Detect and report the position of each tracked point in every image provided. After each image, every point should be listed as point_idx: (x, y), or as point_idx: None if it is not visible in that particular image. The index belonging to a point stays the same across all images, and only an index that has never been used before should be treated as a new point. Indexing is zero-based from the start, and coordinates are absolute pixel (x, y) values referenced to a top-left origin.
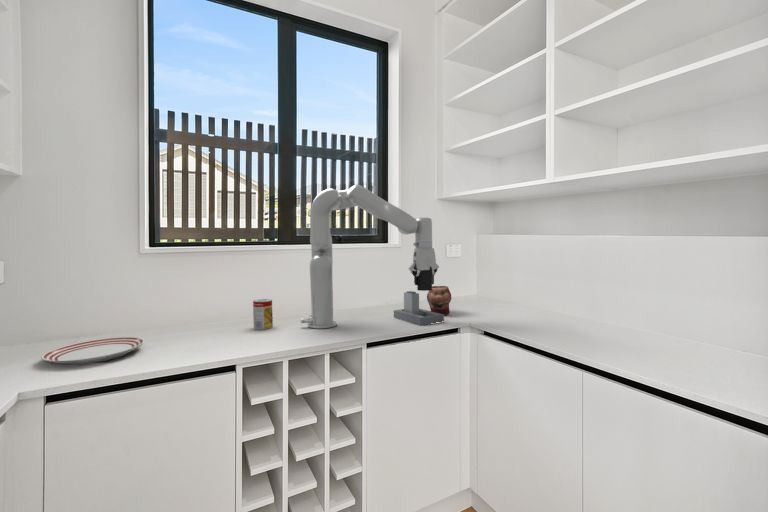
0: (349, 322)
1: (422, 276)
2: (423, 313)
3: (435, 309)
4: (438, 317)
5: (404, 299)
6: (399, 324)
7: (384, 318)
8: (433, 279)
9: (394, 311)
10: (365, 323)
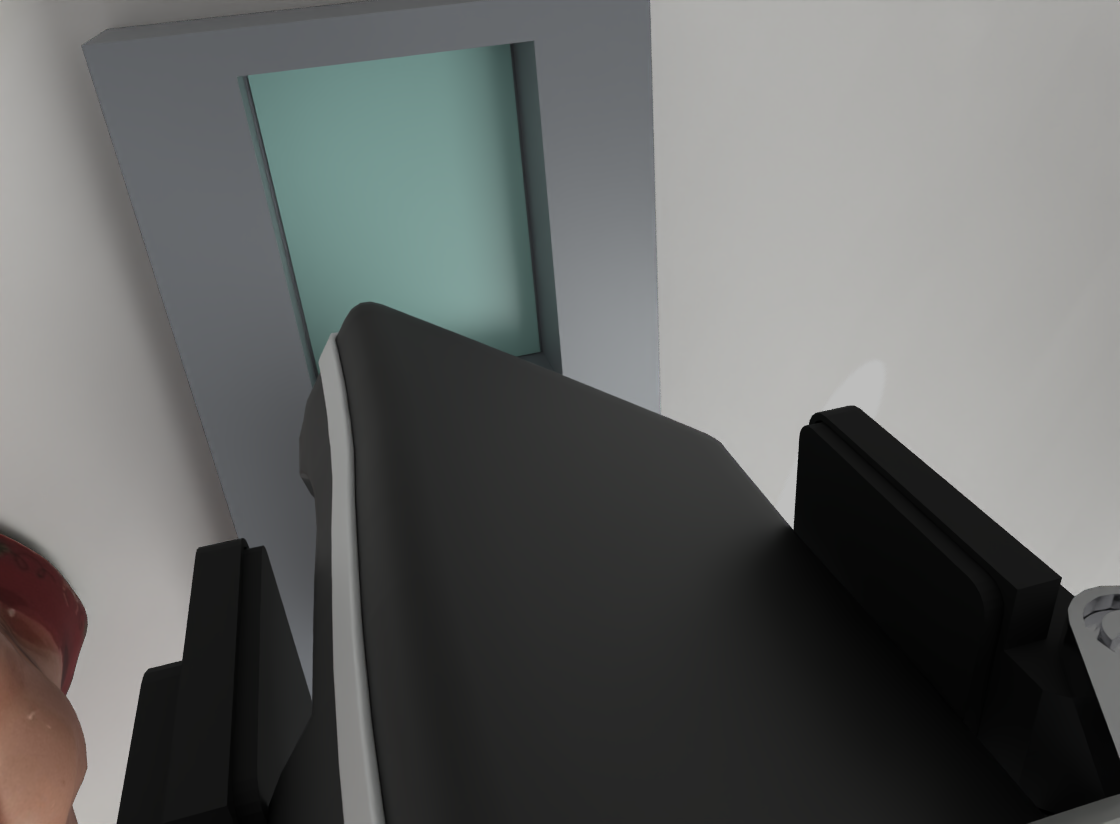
0: (1104, 501)
1: (815, 673)
2: None
3: (19, 604)
4: (230, 23)
5: None
6: (785, 208)
7: None
8: (201, 658)
9: None
10: (1031, 408)
